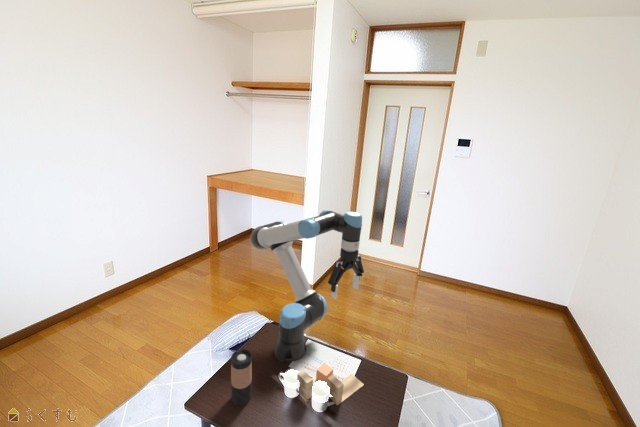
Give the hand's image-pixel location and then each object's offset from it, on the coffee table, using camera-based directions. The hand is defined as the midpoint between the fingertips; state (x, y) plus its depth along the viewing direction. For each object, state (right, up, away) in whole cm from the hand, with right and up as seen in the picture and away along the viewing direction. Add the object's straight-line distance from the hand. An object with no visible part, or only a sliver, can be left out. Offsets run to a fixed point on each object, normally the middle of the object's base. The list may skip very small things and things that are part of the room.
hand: (344, 292), depth 133 cm
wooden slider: (-13, -38, -7) cm, 40 cm away
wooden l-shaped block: (-1, -39, -8) cm, 40 cm away
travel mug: (-42, -38, -15) cm, 58 cm away
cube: (-9, -35, -5) cm, 37 cm away
